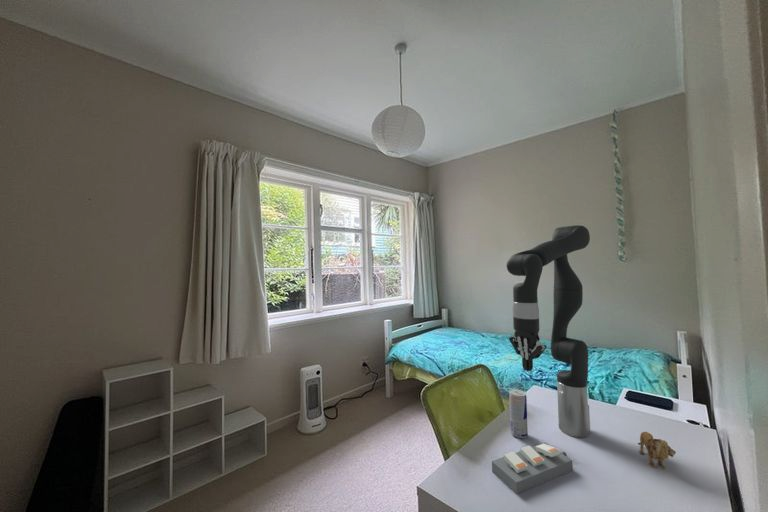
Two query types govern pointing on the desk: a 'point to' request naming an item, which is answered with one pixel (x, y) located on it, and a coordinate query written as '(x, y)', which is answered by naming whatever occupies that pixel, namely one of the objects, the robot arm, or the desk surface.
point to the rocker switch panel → (532, 471)
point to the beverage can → (518, 413)
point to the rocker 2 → (547, 450)
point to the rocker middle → (532, 456)
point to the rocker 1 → (515, 462)
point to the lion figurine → (655, 448)
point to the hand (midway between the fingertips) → (527, 370)
